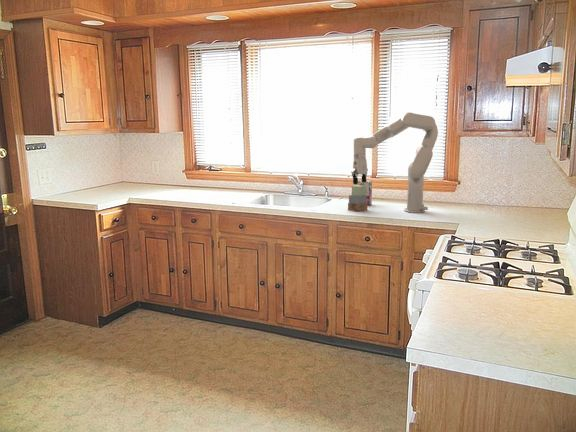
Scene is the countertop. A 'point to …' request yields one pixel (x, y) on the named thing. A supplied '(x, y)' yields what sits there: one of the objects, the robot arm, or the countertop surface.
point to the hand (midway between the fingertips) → (359, 183)
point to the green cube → (358, 190)
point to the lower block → (357, 207)
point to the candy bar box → (367, 191)
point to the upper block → (357, 199)
